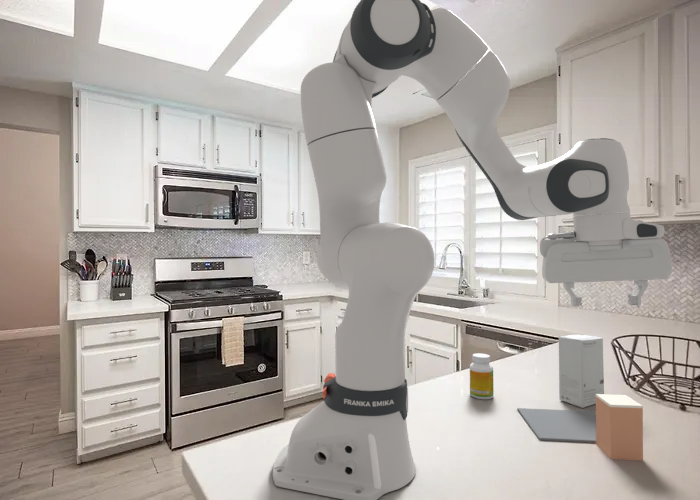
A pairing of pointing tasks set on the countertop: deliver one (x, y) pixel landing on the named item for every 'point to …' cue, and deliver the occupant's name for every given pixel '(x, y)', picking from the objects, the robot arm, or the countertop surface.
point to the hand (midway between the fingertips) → (604, 305)
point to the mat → (561, 424)
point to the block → (619, 426)
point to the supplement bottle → (481, 377)
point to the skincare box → (580, 369)
